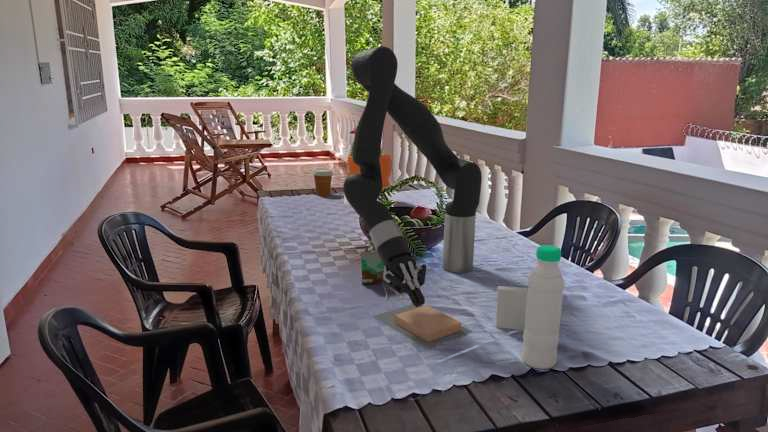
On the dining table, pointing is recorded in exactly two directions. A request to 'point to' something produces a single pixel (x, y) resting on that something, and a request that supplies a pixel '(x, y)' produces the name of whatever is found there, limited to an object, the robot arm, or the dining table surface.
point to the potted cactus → (384, 164)
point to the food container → (371, 266)
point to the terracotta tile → (427, 323)
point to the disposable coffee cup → (323, 181)
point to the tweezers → (393, 290)
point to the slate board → (389, 320)
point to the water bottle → (543, 310)
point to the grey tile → (511, 307)
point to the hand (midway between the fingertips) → (420, 305)
